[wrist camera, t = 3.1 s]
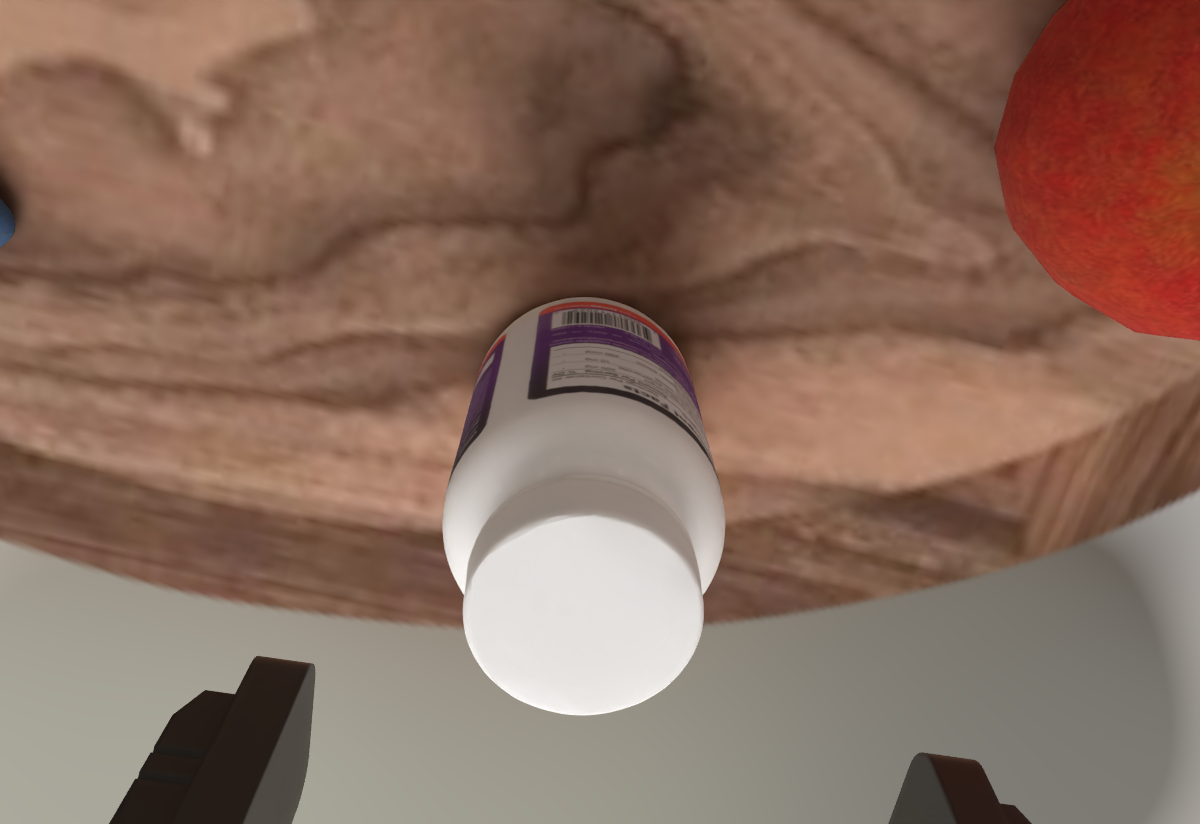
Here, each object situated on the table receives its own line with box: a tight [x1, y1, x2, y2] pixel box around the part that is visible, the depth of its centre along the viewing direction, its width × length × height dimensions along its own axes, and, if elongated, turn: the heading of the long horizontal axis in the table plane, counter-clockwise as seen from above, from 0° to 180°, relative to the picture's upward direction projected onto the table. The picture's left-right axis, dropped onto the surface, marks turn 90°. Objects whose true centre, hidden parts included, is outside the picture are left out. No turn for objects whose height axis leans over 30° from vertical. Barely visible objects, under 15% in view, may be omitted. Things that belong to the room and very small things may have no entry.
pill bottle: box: [443, 297, 725, 715], centre depth 21 cm, size 5×5×10 cm
